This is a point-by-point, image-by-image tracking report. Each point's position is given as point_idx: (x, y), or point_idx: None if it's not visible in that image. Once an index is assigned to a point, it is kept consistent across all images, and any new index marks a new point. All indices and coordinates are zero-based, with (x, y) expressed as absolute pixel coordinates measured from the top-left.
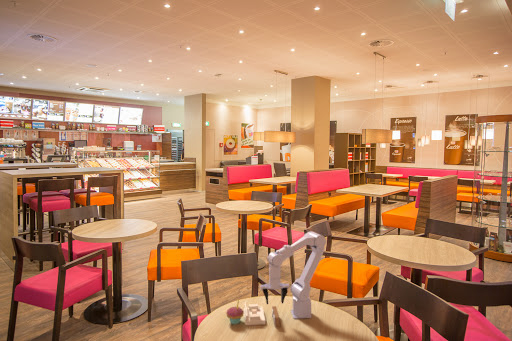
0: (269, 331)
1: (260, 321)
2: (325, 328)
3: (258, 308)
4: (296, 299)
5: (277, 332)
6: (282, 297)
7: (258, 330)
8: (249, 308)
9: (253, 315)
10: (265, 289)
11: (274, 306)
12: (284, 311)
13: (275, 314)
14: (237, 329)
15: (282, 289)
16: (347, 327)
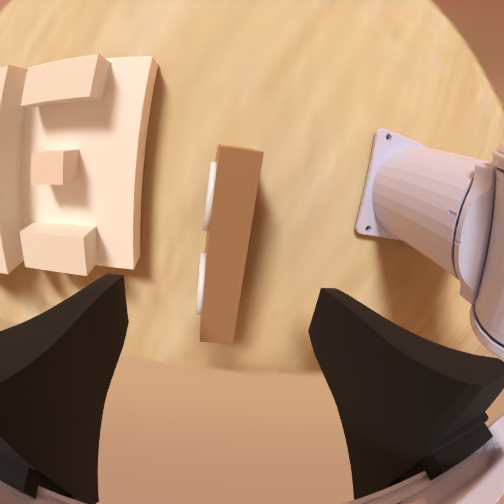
0: (158, 327)
1: (102, 262)
2: (424, 326)
3: (111, 76)
4: (463, 272)
5: (203, 342)
6: (338, 394)
7: None
8: (33, 105)
9: (41, 253)
10: (26, 497)
11: (245, 154)
12: (333, 116)
13: (212, 301)
14: (6, 275)
15: (399, 477)
16: None
